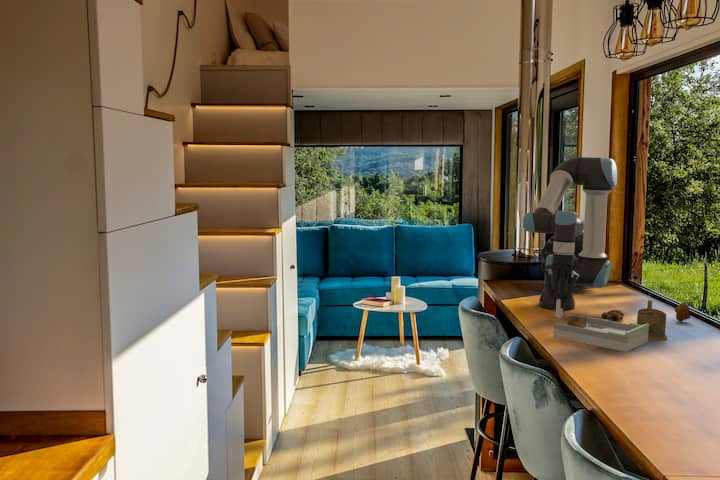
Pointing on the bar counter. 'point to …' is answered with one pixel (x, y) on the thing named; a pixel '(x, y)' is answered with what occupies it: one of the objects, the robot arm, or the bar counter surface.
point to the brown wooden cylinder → (653, 322)
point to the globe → (549, 251)
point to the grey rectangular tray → (605, 334)
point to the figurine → (613, 315)
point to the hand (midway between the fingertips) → (558, 316)
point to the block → (577, 320)
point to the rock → (683, 311)
